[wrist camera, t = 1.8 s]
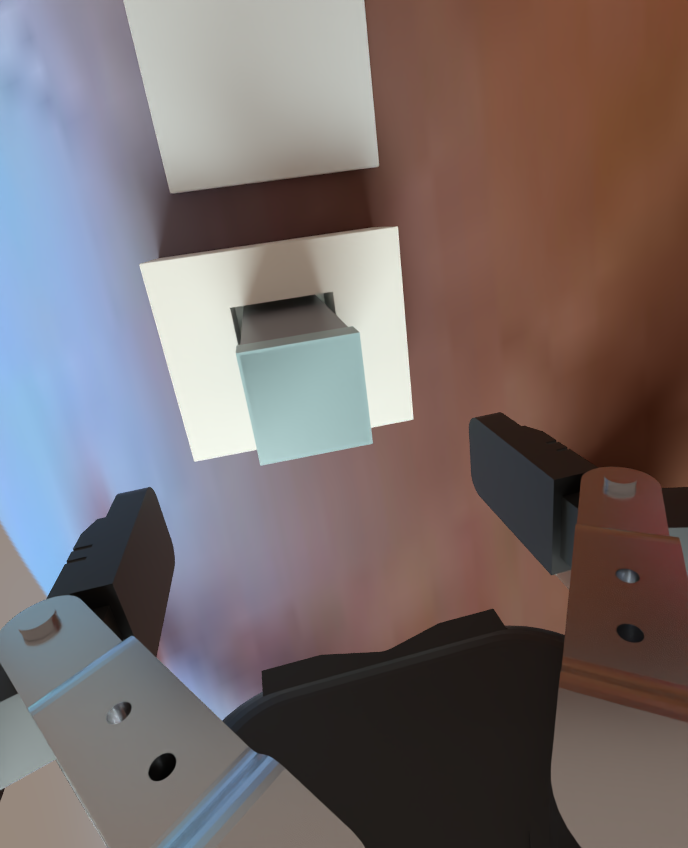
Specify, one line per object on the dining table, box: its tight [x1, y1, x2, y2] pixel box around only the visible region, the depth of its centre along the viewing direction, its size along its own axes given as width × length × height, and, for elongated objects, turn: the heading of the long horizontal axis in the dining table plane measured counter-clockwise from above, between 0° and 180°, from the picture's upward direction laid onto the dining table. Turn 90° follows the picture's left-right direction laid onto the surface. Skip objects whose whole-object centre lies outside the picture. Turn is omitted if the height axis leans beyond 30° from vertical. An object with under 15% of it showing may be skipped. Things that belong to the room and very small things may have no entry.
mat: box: [123, 0, 379, 194], centre depth 24 cm, size 11×8×1 cm
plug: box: [236, 294, 373, 466], centre depth 23 cm, size 4×4×12 cm
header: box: [139, 227, 413, 462], centre depth 27 cm, size 12×10×5 cm
